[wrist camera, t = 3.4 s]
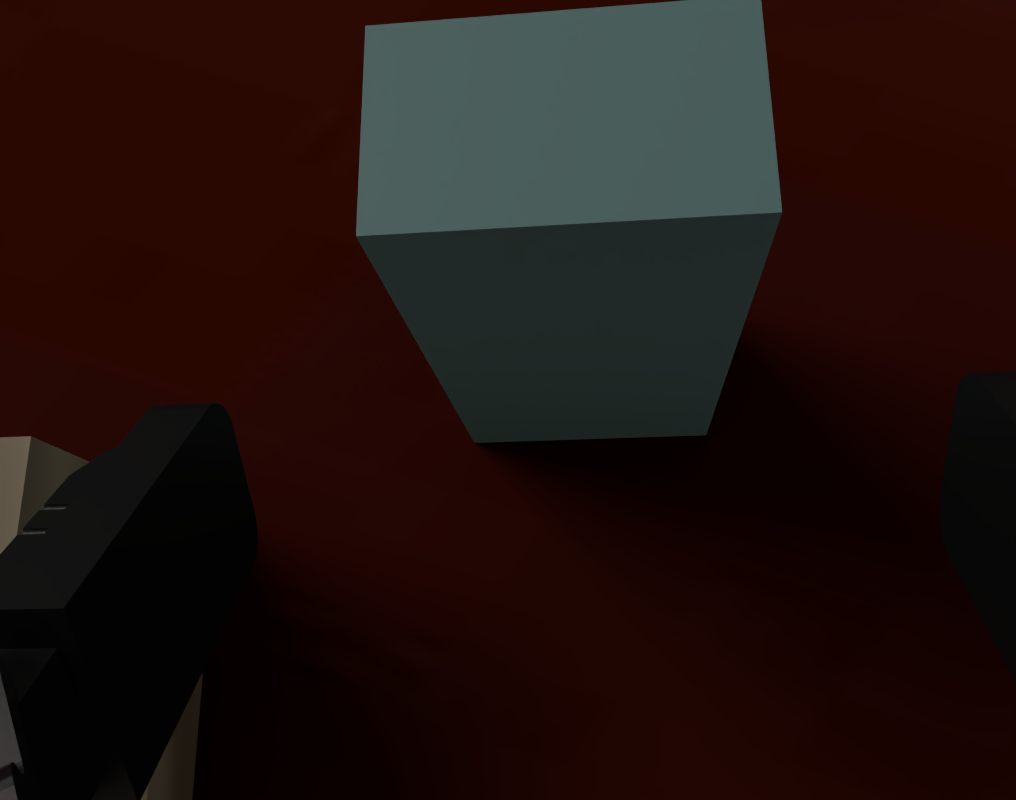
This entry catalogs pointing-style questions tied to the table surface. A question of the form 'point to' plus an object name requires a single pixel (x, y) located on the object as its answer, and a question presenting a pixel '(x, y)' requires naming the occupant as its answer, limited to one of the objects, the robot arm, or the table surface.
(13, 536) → the slot plate
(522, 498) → the table surface
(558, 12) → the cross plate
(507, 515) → the table surface
